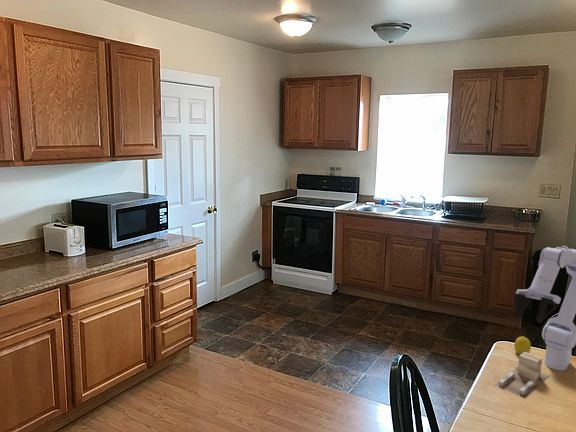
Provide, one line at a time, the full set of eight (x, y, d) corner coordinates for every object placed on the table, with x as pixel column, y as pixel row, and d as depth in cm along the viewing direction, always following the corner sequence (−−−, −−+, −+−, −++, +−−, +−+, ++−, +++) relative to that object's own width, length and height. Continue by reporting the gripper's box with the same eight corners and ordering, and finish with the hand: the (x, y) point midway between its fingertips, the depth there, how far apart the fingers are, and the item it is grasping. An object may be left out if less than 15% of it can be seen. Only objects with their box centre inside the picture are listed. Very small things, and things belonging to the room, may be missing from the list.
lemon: (531, 360, 177) (533, 340, 176) (515, 358, 178) (517, 339, 177) (527, 353, 183) (529, 333, 181) (511, 351, 184) (513, 332, 182)
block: (522, 369, 168) (524, 351, 167) (540, 376, 164) (542, 357, 162) (517, 373, 166) (519, 355, 164) (535, 380, 161) (537, 361, 160)
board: (520, 367, 172) (520, 361, 171) (549, 379, 165) (550, 371, 164) (494, 388, 159) (494, 380, 158) (524, 401, 152) (525, 393, 151)
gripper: (516, 273, 159) (501, 309, 156) (557, 278, 145) (540, 317, 142) (529, 283, 161) (514, 319, 158) (570, 289, 148) (554, 328, 145)
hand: (527, 319), depth 150 cm, fingers open, 7 cm apart
